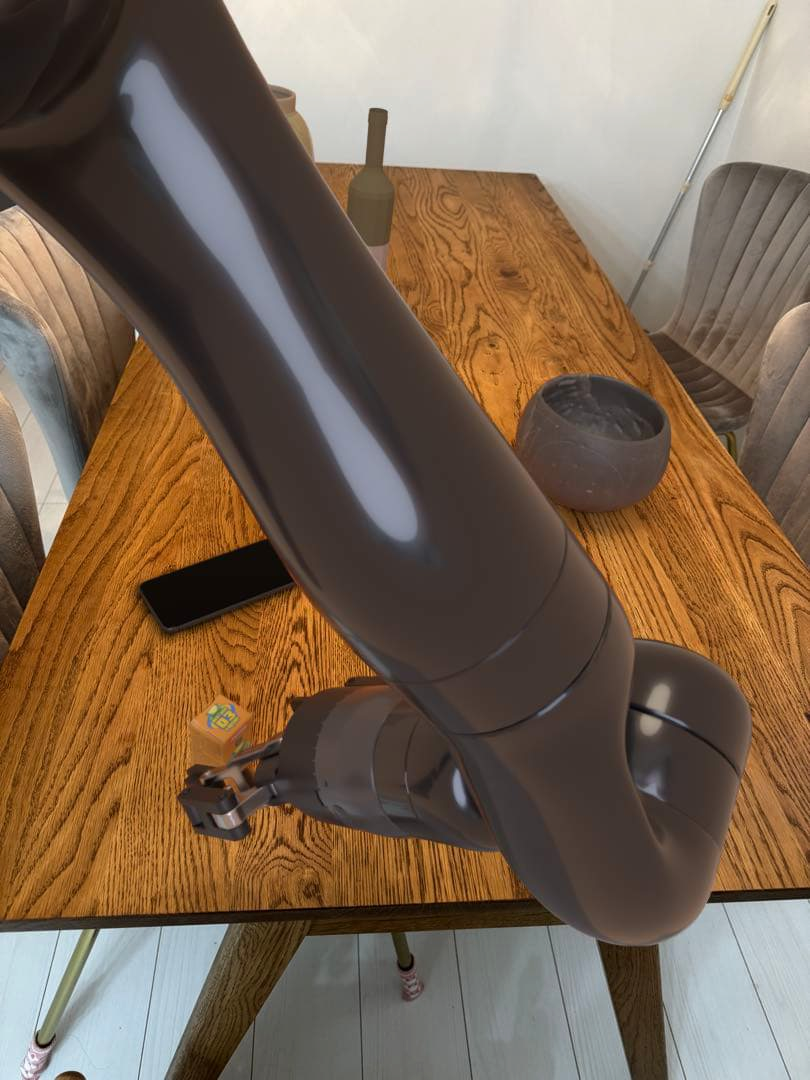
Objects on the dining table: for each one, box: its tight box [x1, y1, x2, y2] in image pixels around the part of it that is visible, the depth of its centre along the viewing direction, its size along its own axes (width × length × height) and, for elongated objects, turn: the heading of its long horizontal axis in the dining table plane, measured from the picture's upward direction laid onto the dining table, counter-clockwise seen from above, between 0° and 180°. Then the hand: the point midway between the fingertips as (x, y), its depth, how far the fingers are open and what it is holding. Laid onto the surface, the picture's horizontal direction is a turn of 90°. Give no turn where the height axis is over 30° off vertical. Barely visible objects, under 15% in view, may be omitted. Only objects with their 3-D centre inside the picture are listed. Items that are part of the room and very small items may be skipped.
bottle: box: [346, 107, 396, 275], centre depth 121 cm, size 7×7×30 cm
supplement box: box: [189, 694, 253, 793], centre depth 61 cm, size 3×3×10 cm
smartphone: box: [138, 538, 298, 634], centre depth 81 cm, size 7×1×15 cm
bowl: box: [514, 372, 672, 513], centre depth 97 cm, size 18×18×13 cm
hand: (249, 745), depth 56 cm, fingers open, 8 cm apart
